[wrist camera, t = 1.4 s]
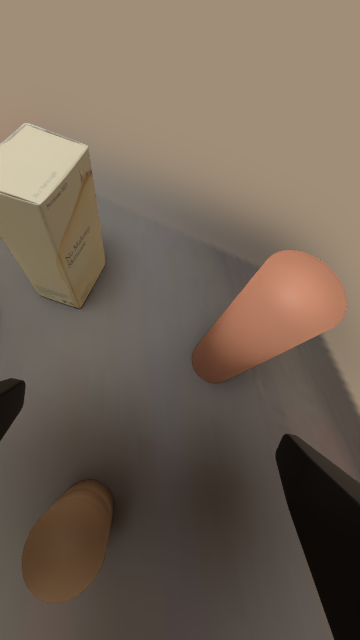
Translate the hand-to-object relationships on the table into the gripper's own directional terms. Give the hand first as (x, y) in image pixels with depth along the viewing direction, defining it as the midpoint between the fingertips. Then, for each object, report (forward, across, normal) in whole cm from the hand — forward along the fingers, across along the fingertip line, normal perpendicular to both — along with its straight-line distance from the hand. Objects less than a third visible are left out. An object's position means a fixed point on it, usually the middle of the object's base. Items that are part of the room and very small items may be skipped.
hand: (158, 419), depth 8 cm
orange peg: (+15, -6, +4) cm, 16 cm away
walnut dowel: (+6, +3, +14) cm, 15 cm away
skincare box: (+19, +10, 0) cm, 21 cm away
